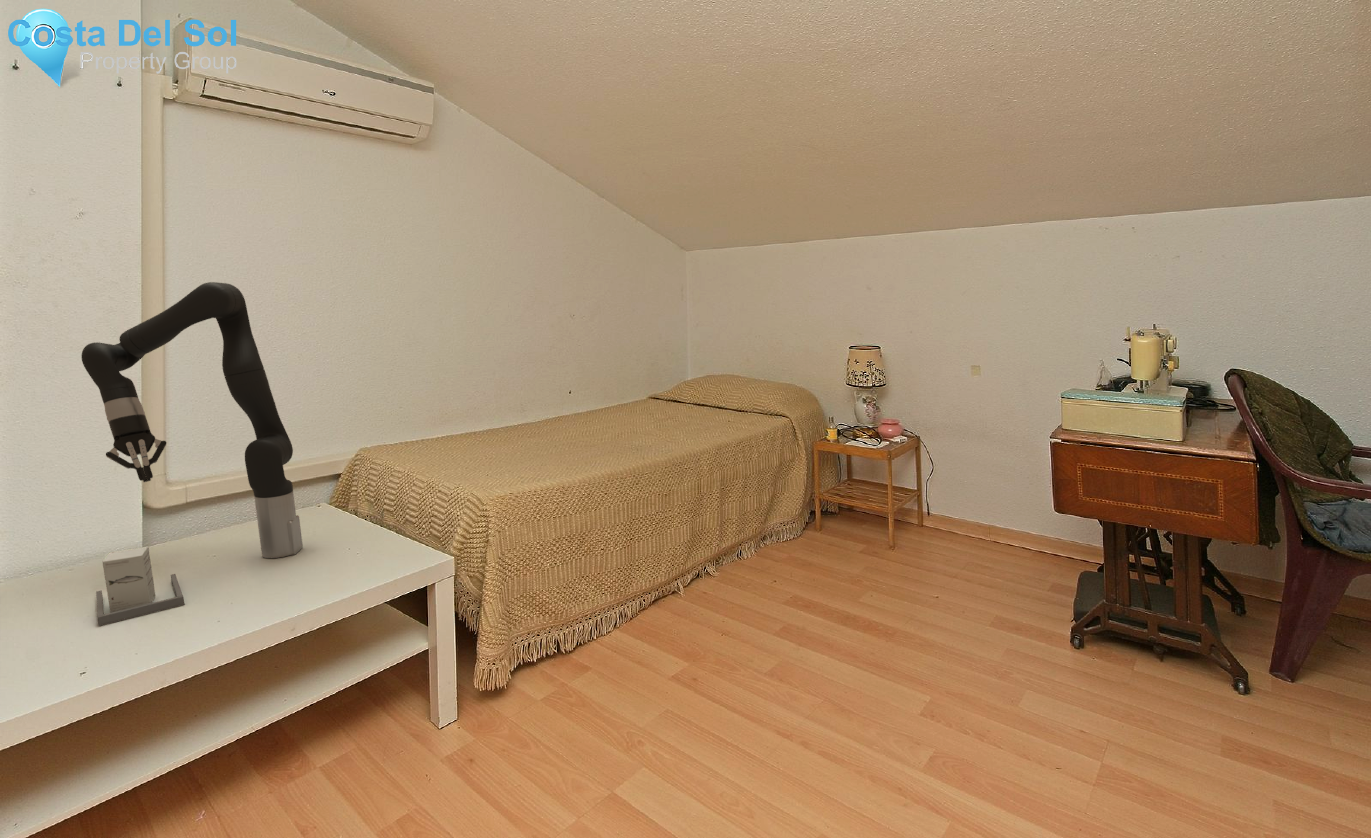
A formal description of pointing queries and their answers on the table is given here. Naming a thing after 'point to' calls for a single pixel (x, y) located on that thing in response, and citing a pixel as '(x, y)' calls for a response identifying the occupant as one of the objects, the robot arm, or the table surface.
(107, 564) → the supplement box
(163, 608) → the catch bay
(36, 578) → the table surface
